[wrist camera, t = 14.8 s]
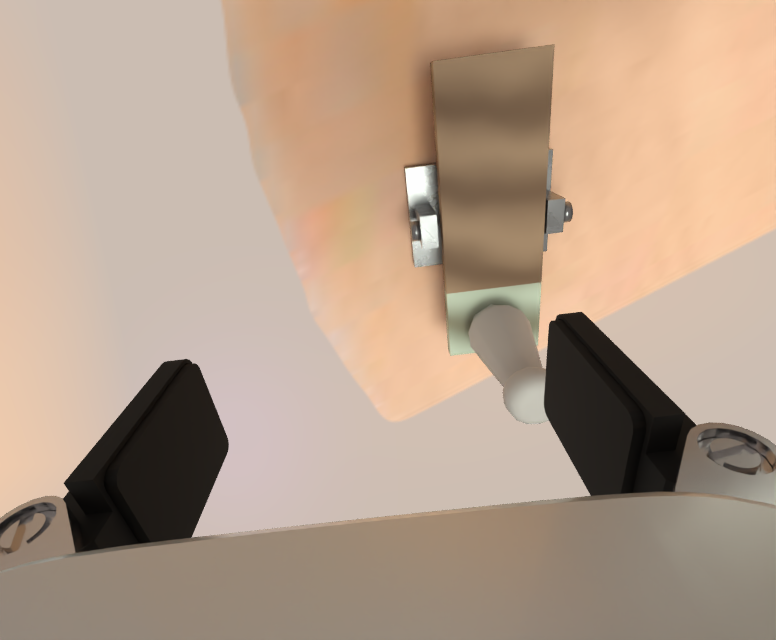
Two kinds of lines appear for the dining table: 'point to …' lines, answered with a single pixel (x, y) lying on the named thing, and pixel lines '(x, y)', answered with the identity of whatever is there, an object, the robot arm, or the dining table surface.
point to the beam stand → (428, 215)
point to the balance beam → (492, 182)
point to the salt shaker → (511, 359)
